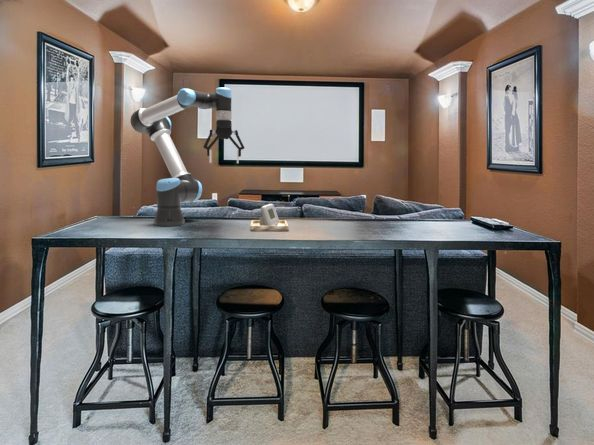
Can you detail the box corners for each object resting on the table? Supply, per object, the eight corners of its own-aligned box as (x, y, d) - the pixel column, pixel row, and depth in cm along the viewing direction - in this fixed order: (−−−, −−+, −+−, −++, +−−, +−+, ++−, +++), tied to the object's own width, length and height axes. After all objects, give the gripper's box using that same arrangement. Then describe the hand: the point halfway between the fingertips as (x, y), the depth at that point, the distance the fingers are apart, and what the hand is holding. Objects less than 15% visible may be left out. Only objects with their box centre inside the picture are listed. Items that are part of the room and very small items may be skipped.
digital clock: (269, 229, 208) (269, 206, 206) (253, 227, 211) (253, 205, 210) (284, 224, 222) (285, 203, 221) (269, 223, 226) (269, 202, 224)
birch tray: (250, 231, 207) (250, 225, 206) (251, 224, 226) (251, 220, 226) (288, 231, 208) (288, 226, 208) (286, 225, 228) (286, 220, 227)
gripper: (197, 118, 212) (198, 162, 215) (248, 120, 213) (248, 163, 216) (199, 120, 219) (200, 162, 222) (249, 121, 221) (249, 163, 224)
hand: (224, 163), depth 219 cm, fingers open, 13 cm apart
